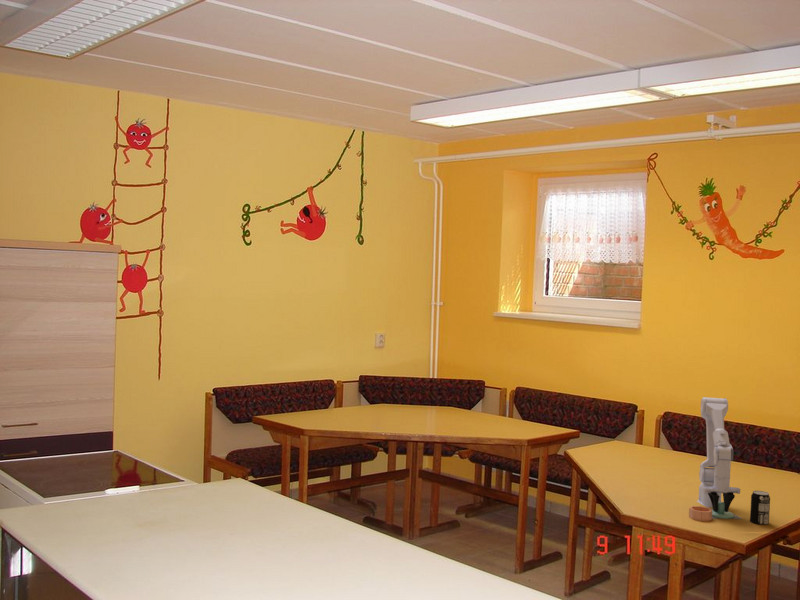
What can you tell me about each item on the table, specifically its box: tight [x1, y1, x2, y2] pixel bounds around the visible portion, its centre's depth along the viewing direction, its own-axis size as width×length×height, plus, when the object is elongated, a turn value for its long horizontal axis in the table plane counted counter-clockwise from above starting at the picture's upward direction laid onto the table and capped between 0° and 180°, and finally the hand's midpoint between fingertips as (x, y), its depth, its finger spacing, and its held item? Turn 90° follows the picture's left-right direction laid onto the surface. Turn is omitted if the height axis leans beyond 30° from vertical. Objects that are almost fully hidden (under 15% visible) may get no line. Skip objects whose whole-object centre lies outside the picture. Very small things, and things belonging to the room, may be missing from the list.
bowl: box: [688, 505, 713, 522], centre depth 313 cm, size 8×8×4 cm
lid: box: [710, 501, 734, 520], centre depth 318 cm, size 10×10×5 cm
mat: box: [712, 510, 743, 520], centre depth 320 cm, size 13×12×1 cm
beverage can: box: [749, 490, 771, 526], centre depth 310 cm, size 7×7×12 cm
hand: (720, 511), depth 318 cm, fingers open, 4 cm apart
